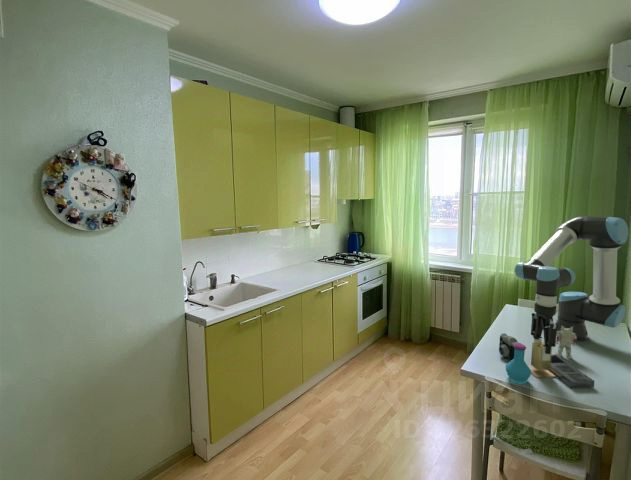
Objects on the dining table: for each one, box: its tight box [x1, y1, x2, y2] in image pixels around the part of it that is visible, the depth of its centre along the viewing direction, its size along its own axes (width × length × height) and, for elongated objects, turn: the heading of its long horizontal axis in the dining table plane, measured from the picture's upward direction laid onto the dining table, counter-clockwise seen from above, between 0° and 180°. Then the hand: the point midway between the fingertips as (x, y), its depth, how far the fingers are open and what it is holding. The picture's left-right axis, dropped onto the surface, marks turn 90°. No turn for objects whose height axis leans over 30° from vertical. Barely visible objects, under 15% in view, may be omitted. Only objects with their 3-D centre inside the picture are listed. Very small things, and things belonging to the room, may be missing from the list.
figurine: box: [555, 326, 578, 359], centre depth 160 cm, size 8×8×15 cm
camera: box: [498, 332, 522, 361], centre depth 162 cm, size 15×7×10 cm, turn 1°
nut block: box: [530, 341, 553, 370], centre depth 147 cm, size 5×5×10 cm
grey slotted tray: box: [549, 353, 595, 389], centre depth 147 cm, size 9×22×3 cm, turn 0°
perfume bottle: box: [505, 342, 532, 385], centre depth 142 cm, size 9×9×15 cm
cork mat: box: [528, 366, 557, 379], centre depth 148 cm, size 8×8×1 cm
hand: (541, 356), depth 147 cm, fingers closed on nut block, 5 cm apart
